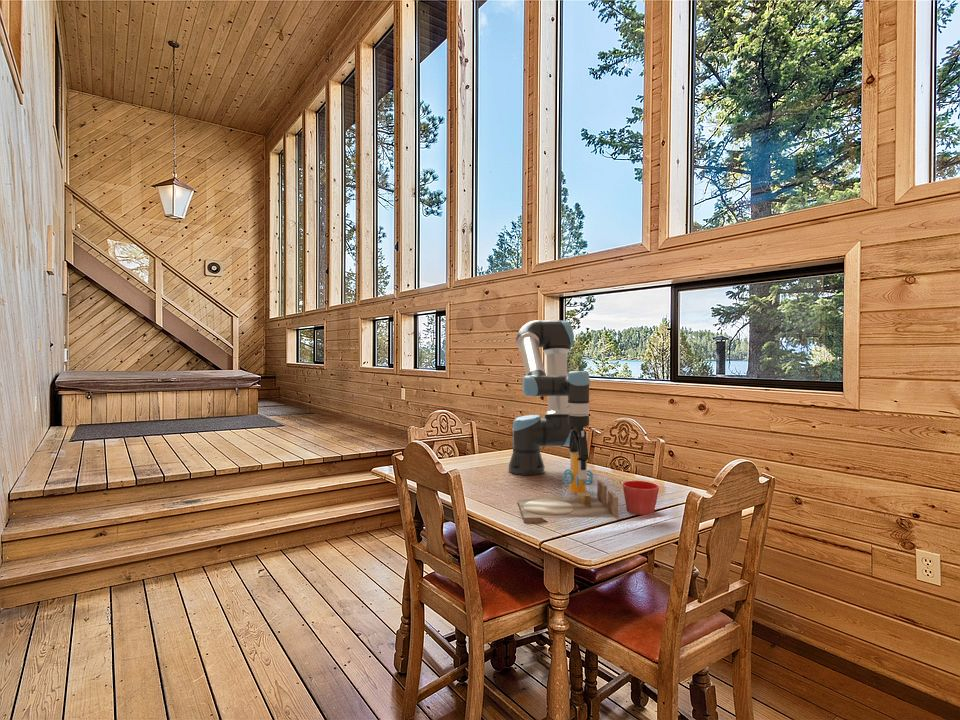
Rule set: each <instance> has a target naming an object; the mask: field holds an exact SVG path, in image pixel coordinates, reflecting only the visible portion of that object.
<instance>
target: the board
mask: <svg viewBox="0 0 960 720" xmlns="http://www.w3.org/2000/svg"><path fill="white" fill-rule="evenodd" d="M596 481H597V482H596V483H597V485H596V486H597V487H596V491H597V492H596V494H597V495H596V496H597V497H591V504H590V505H583V504H581V503H579V502H578V497H531V498H529V497H524V498H523V497H520V498H516V500H517V502H516V503H517V506H518V509H519V512H520V515H521V517H522V521H523V523H524V524H525V523H527V524H529V523H531V524H533V523H534V524H535V523H536V524H537V523H548V520H546V519H545V518H547V519H548V518H551V519H552V518H553V519H554V518H555V519H556V518H561V519H562V518H565V519H566V518H620V516H619V497H618V495H616V494H615V493H614V491H613V490H610V489H609V490H608V485H606V484H605V483H604V482H603V481H602V480H601V479H598V480H596Z"/></svg>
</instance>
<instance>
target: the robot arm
mask: <svg viewBox="0 0 960 720" xmlns="http://www.w3.org/2000/svg"><path fill="white" fill-rule="evenodd" d="M574 334H575V333H574V329H573V327H572V324H571V322H570V321H568V320H561V319H560V320H559V319H557V320H556V319H555V320H552V319H551V320H549V319H548V320H541V319H539V320H536V319H535V320H531V321H529V322H526V323H525V324H524V325H522V326H521V328H519V330H518V332H517V335H516V338H515V341H516V347H517V348H518V349H519V351H520V353H521V359H522V363H523V368H524V373H525V375H524V376H523V378H522V387H521V388H522V393H523V395H524V396H528V397H529V396H530V397H547V411H546V412H545V414H544V418H542V417H541V415H540V414H529V415H523V416H518V417H516V418H514V420H513V422H512V454H511V457H510V460H509V464H508V472H509V473H511V474H513V475H514V474H515V475H520V476H535V475H542V474H544V473H545V463H544V460H543V458H542V454H541V447H568V449H569V451H570V454H569V455H570V456H569V457H570V459H569V461H570V462H569V463H570V465H569V466H570V468H569V469H570V470H571V471H572V453H574V452H578V453H579V458H578V459H577V460H578V479H586V480H588V479H587V478H588V475H587V473H588V472H587V470H588V460H589V449H588V440H587V430H585V429H584V427H585V428H586V427H589V426H590V415H589V414H590V373H589V372H588V371H587V370H586V371H583V370H573V371H569V372H568V361H567V355H568V354H569V353H570V352H571V348H573V347H574V342H575V336H574ZM540 348H542V353H544V354H545V355H546V370H545V367H544V362H543V358H542V355H541V352H540Z"/></svg>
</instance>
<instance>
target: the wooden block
mask: <svg viewBox="0 0 960 720" xmlns="http://www.w3.org/2000/svg"><path fill="white" fill-rule="evenodd" d="M577 498H578V502H579V503H581V504H583V505H590V504H591V498H592V495H591V494H589V493H587V492H586V493H585V492H580V493H578V494H577Z"/></svg>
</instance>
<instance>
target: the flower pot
mask: <svg viewBox="0 0 960 720" xmlns="http://www.w3.org/2000/svg"><path fill="white" fill-rule="evenodd" d="M622 487H623V488H622V489H623V495H624V501H625V502H624V503H625V507H626V511H627V512H629V513H632V514H635V515H645V516H646V515H648V516H649V515H653V514H654V513H655V509H656V506H657V500H658V495H659V490H660V489H659V488H660V486H659V485H658V484H657V483H654V482H651V481H650V482H649V481H643V480H628V481H624V482H622ZM647 519H649V518H647Z"/></svg>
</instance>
